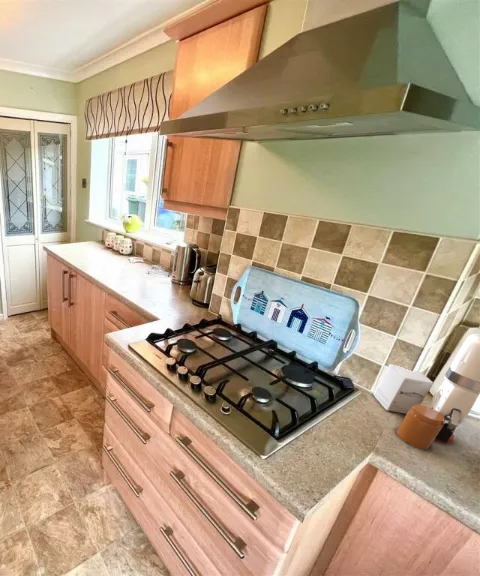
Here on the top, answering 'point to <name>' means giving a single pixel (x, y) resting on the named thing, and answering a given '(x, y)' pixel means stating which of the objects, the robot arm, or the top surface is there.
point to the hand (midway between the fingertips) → (436, 429)
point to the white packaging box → (402, 389)
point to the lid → (448, 440)
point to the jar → (421, 426)
